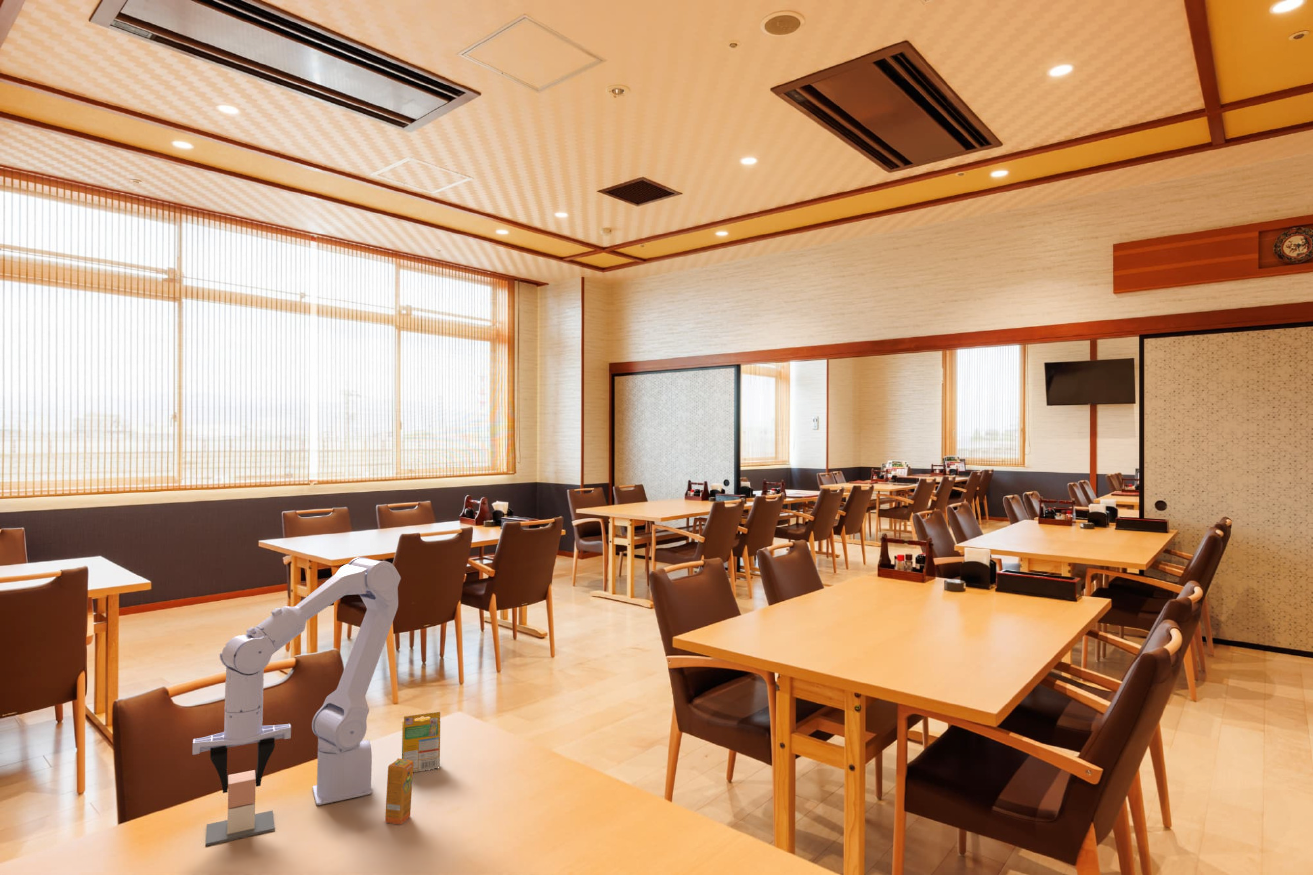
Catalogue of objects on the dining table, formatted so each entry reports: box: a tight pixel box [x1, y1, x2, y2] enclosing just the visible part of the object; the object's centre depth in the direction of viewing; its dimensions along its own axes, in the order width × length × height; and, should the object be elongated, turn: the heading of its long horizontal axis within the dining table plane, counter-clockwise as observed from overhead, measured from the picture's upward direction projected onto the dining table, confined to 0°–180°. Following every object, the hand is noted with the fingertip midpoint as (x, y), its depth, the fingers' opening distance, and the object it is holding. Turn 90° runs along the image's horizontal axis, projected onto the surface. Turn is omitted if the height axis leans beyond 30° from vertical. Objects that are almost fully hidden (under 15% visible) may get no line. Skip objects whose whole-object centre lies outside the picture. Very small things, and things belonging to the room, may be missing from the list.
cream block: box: [226, 802, 256, 834], centre depth 123 cm, size 4×4×4 cm
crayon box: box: [401, 711, 441, 773], centre depth 147 cm, size 7×3×12 cm, turn 114°
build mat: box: [205, 810, 276, 847], centre depth 122 cm, size 10×7×1 cm
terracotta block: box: [227, 769, 256, 809], centre depth 123 cm, size 4×4×4 cm
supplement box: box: [384, 758, 414, 826], centre depth 126 cm, size 3×3×10 cm
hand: (241, 787), depth 123 cm, fingers open, 4 cm apart
